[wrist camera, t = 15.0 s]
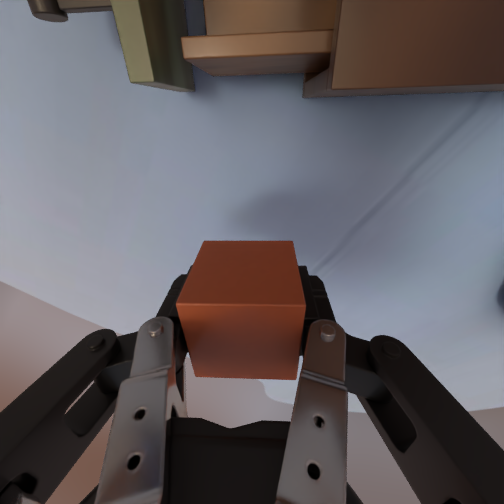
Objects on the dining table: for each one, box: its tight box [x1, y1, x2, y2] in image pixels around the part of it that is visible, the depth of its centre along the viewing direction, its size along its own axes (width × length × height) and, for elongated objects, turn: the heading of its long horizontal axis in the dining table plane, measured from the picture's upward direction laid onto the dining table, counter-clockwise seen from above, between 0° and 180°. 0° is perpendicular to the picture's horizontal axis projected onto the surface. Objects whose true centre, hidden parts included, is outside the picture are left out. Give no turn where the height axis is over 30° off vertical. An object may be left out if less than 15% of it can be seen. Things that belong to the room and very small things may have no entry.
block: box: [176, 241, 306, 380], centre depth 11 cm, size 4×4×4 cm
